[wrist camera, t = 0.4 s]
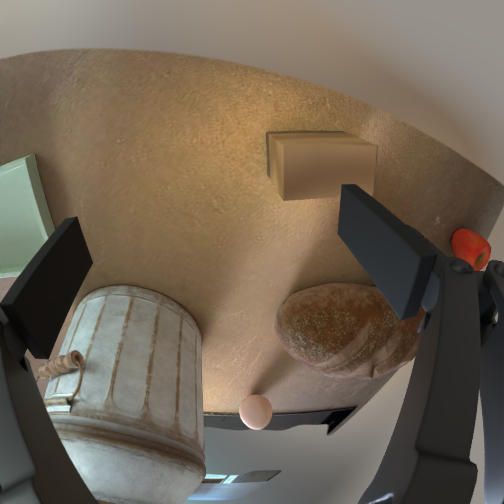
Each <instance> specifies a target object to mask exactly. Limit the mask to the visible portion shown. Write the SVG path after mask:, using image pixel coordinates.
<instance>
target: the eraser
mask: <svg viewBox="0 0 504 504" xmlns="http://www.w3.org/2000/svg"><path fill="white" fill-rule="evenodd" d="M266 142H267V175H268V176H269V178H270V180H271V181H272V183H273V184H274V186H275V188H276V189H277V191H278V192H279V194H280V196H281V197H282V199H283V201H289V200H303V199H318V198H335V197H341V185H342V184H356V185H358V186H359V187H360V188H361V189H363V190H364V191H365V192H367V193H368V194H369V195H370V196H373V189H374V181H375V171H376V160H377V148H378V146H376V145H374V144H372V143H369V142H367V141H365V140H362V139H360V138H358V137H355V136H353V135H350V134H348V133H345V132H343V131H281V132H266Z"/></svg>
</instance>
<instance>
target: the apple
mask: <svg viewBox="0 0 504 504" xmlns="http://www.w3.org/2000/svg"><path fill="white" fill-rule="evenodd" d="M451 245H452V249H453V252H454V255H455V257H456V258H460V259H463V260H465V261H467V262H468V263H470V264H471V265H472V267H473V268H474V270H475V271H479V270H481V269H482V268H483V267H484V266H485V265H486V264H487V262H488V260H489V258H490V253H491V247H490V244H489V243H488V242H487V241H486V240H485V239H484V238H483V237H482V236H480V235H479V234H477V233H475V232H473V231H471V230H468V229H458V230H457V231H456V232H455V233H454V234H453V236H452V239H451Z"/></svg>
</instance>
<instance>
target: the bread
mask: <svg viewBox="0 0 504 504" xmlns="http://www.w3.org/2000/svg"><path fill="white" fill-rule="evenodd" d="M424 315H425V311H424V309H423V307H422V305H421V306H420V308H419V311H418V313H417V316H416V317H413V318H409V319H406V320H402V321H400V320H399V318H398V317H397V315H396V314H395V312H394V311H393V309H392V308H391V306H390V305H389V303H388V302H387V301H386V299H385V298H384V296H383V295H382V293H381V292H380V290H379V289H378V288H377V287H373V286H369V285H362V284H356V283H344V282H334V283H326V284H323V285H319V286H314V287H310V288H307V289H303V290H301V291H298V292H295V293H294V294H292V295H290V296H289V297H288V298H287V299H286V300H285V301H284V302H283V303H282V305H281V306H280V308H279V310H278V312H277V315H276V320H275V334H276V336H277V338H278V340H279V342H280V344H281V346H282V347H283V348H284V349H285V350H286V351H287V352H288V353H289V354H290V355H291V356H292V357H293V358H294V359H296V360H297V361H299V362H300V363H301V364H303V365H305V366H307V367H309V368H311V369H313V370H315V371H317V372H319V373H321V374H323V375H326V376H330V377H338V378H348V379H373V378H376V377H379V376H382V375H384V374H386V373H390V372H392V371H394V370H396V369H398V368H400V367H402V366H404V365H405V364H407V363H408V362H409V361H411V360H412V359H413V358H414V357H415V356H416V352H417V348H418V343H419V338H420V333H421V331H420V333H418V332H417V331H418V329H419V327H420V324H421V322H422V320H423V317H424Z"/></svg>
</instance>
